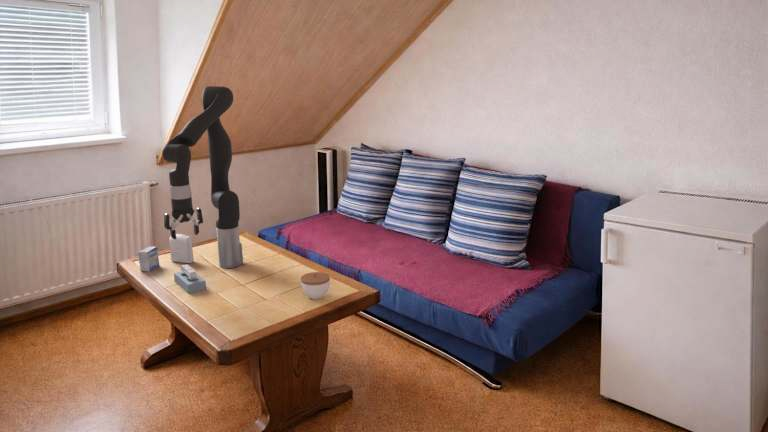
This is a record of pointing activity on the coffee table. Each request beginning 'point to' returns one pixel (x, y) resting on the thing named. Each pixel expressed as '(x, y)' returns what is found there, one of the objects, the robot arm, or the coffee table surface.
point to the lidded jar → (315, 284)
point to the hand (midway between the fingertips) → (185, 236)
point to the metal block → (188, 272)
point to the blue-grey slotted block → (190, 286)
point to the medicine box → (148, 258)
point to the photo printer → (181, 249)
